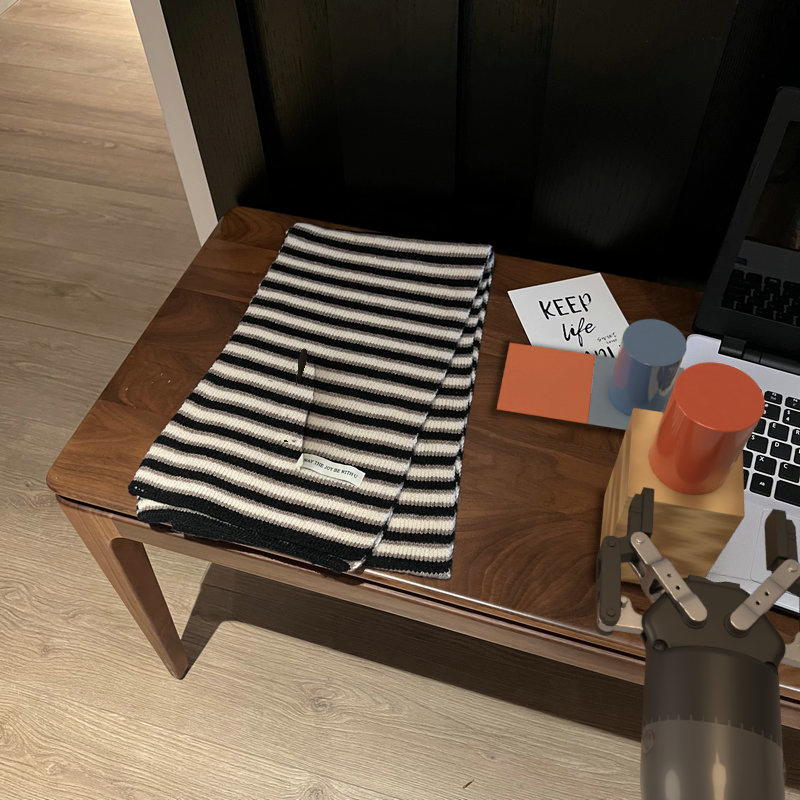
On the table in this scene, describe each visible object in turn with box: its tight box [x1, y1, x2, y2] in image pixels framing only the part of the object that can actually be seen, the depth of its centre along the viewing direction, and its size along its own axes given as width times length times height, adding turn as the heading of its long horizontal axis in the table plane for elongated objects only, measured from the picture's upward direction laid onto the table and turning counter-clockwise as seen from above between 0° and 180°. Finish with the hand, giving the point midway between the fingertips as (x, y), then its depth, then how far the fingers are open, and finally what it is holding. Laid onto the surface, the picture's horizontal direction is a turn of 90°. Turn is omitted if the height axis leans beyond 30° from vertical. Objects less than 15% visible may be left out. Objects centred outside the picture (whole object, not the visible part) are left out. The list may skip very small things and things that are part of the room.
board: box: [496, 342, 685, 431], centre depth 88 cm, size 20×10×1 cm, turn 77°
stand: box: [599, 408, 746, 585], centre depth 70 cm, size 9×9×16 cm
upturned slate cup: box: [608, 318, 688, 416], centre depth 83 cm, size 6×6×9 cm
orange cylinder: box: [648, 361, 766, 495], centre depth 60 cm, size 6×6×9 cm
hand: (710, 503), depth 54 cm, fingers open, 8 cm apart
